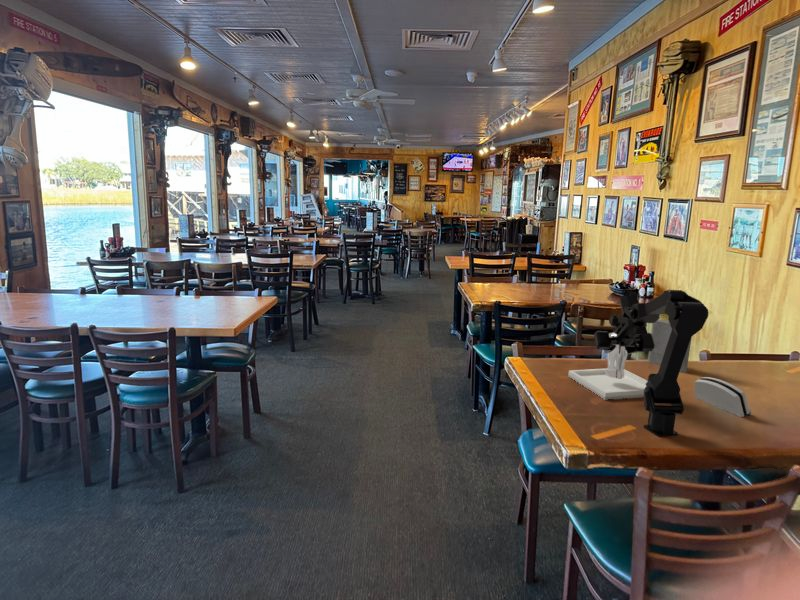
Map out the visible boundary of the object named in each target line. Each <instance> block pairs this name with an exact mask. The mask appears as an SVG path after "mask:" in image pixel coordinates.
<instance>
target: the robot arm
mask: <svg viewBox="0 0 800 600" xmlns="http://www.w3.org/2000/svg"><path fill="white" fill-rule="evenodd" d="M619 305H620V308H621V312H622V314H616V315H611V316H610V317H609V318H608V319H609V320H608V323H609V325H610V326H611V327H614V328H615V330H614V332H615V334H617V336H616V338H612V337H609V331H606V330H603V331H602V330H596V331H595V332H594V334H593V339H594V342H595V347H596V349H597V350H599V351H601V350H603V351H604V354H606V355H607V353H609V352H610V351H612V348H611V346H612V345H620V346H621V347H629V350H628V355H632V354H636V353H643V352H649V351H652V350H653V349H654V348H655V344H654V340H653V336H652V334H651V332H648V330H647V326H648V324H652V323H655V322H656V321H657V320H660V315H662V314H663V313H666V315H667V316H668V319H667V321H668V322H669V323H670V325H671V328H672V331H671V334H670V337H669V340H668V343H667V346H666V350H665V353H664V356H663V359H662V362H661V365H659V369H658V372H657V373H650V374H649V375H648V377H647V383H646V387H645V389H644V397H643V403H644V408H645V411H646V412H647V411H648V418H647V424H643V428H645V429H646V430H648V431H650V433H652V434H654V435H656V436H657V437H669V436H677V435H678V434H679V432H677V431H676V430H674V429H675V424H676V415H683V413H684V410H685V407H684V404H683V403H684V402H683V400H682V396H681V388H680V384H679V383H678V378H679V375H680V373H681V372H680V369H681V367H682V364H683V361H684V358H685V355H686V352H687V349H688V346H689V343H690V341H691V342H692V338H693V336H694V335H696V334H697V333H698V332H699V331H701V330H702V329H703V328H704V325H705V324H706V322H707V319H708V317H709V309H708V308H707V307H706V305H705V304H704V303H702V302H701V300H700V299H697V298H696V297H694V296H691V295H689V294H688V293H687V292H686V291H684V290H681V289H667V290H664V291H663V292H662V293H661V294H659V295H658V296H656V297H653V299H650V300H649V301H647V302H642V303H641V302H640V300H639V297H638V295H637V293H636V292H630V293H629V294H626V295H624V296H621V297H620V298H619ZM660 404H661V405H660ZM667 404H668V405H667ZM669 404H670V405H669Z"/></svg>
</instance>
